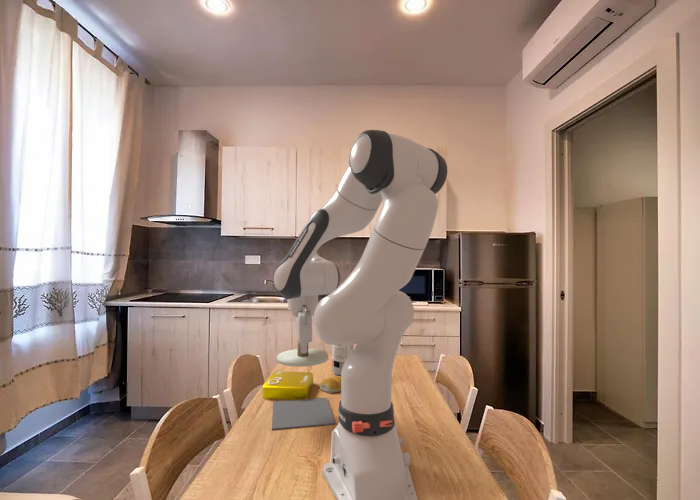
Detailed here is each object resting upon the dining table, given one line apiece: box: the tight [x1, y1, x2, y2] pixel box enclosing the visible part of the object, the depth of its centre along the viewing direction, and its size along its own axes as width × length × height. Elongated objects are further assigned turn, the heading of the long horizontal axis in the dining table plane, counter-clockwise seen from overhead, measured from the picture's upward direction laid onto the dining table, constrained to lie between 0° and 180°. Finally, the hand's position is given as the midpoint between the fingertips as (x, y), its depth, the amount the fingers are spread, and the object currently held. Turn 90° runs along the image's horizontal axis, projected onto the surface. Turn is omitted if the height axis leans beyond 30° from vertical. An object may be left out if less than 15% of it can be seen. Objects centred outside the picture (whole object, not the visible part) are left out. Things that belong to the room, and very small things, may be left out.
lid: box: [276, 338, 329, 368], centre depth 102 cm, size 15×15×6 cm
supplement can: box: [331, 344, 354, 377], centre depth 137 cm, size 8×8×15 cm
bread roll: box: [319, 375, 341, 394], centre depth 121 cm, size 8×9×4 cm
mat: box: [271, 397, 336, 431], centre depth 102 cm, size 17×17×1 cm
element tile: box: [261, 370, 314, 401], centre depth 118 cm, size 15×15×5 cm
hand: (303, 350), depth 102 cm, fingers closed on lid, 3 cm apart
